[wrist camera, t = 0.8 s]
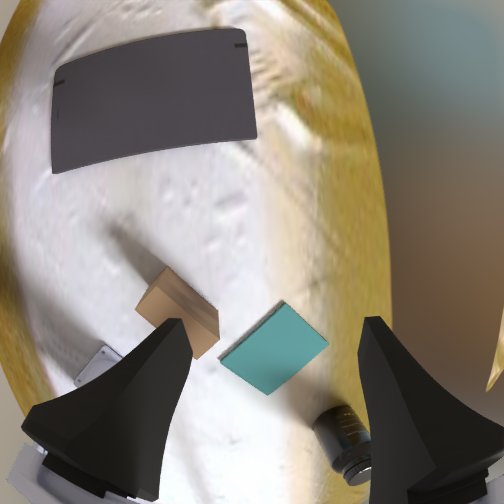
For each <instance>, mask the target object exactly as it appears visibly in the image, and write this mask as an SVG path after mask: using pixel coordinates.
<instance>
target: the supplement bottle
mask: <svg viewBox="0 0 504 504" xmlns="http://www.w3.org/2000/svg"><path fill="white" fill-rule="evenodd" d="M314 433H315V435H316V437H317V439H318V442H319V444H320V446H321V448H322V450H323V452H324V455H325V457H326V459H327V461H328V463H329V465H330V467H331V469H332V470H333V471H334V472H336V473H339V474H342V475H343V478H344V479H345V480H346V482H347V484H348V485H349V486H357V485H360V484H363V483H365V482H367V481H369V480H370V479H371V436H370V434H369V432H368V431H367V429H366V428H365V426H364V425H363V423H362V422H361V420H360V419H359V417H358V416H357V414H356V413H355V411H354V410H353V409H352V408H350V407H347V406H340V407H335V408H332V409H330V410H328V411H326V412H325V413H323V414H322V415H321V416H320V417H319V418H318V419H317V421H316V422H315V424H314Z"/></svg>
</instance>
